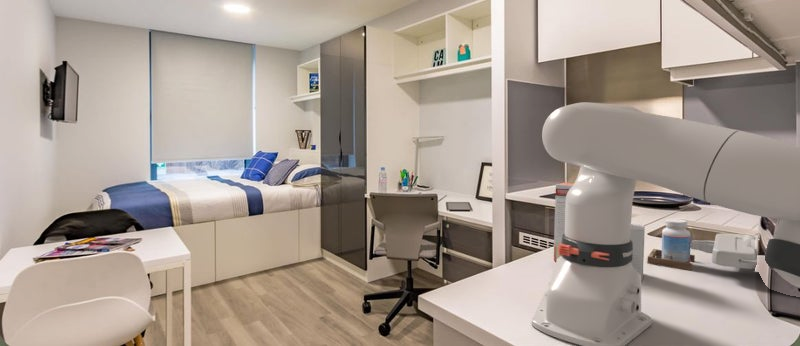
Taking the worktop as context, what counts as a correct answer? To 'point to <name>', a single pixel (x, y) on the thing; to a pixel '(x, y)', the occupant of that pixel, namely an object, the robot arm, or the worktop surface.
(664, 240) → the pill bottle
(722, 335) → the worktop surface
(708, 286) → the worktop surface
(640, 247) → the skincare box
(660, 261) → the stop
